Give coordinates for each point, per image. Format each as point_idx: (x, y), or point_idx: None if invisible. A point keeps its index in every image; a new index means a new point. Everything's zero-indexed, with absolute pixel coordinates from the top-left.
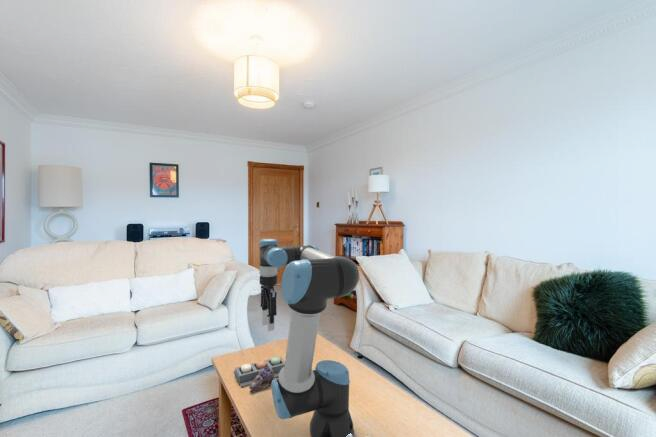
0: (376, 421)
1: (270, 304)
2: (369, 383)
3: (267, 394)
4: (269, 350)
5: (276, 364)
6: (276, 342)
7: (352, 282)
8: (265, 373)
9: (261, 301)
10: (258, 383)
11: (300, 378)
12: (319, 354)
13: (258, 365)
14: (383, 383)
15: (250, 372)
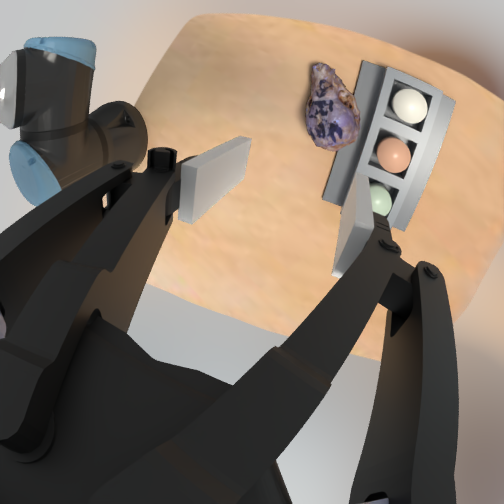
0: None
1: (39, 211)
2: (179, 277)
3: (282, 94)
4: (462, 255)
5: None
6: (470, 296)
7: None
8: (315, 114)
9: (424, 309)
10: (314, 86)
11: None
12: None
13: (388, 139)
14: (169, 289)
15: (383, 103)
